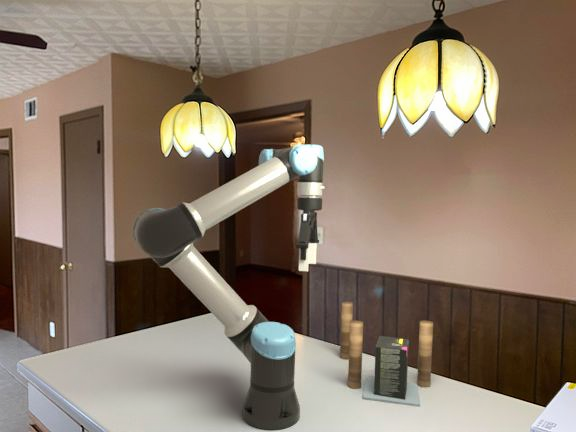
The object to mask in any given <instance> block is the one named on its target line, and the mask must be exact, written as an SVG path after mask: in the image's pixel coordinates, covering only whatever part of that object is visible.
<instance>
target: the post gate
mask: <svg viewBox="0 0 576 432" xmlns="http://www.w3.org/2000/svg"><path fill="white" fill-rule="evenodd" d="M353 308H354V303H353V302H352V301H341V315H340V317H341V318H340V319H341V320H340V339H339V340H340V344H339V346H340V348H339V349H340V350H339V358H340V359H342V360H346V361H347V360H348V361H349V338H350V321H353V316H354V315H353V313H354V309H353Z"/></svg>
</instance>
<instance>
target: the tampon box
mask: <svg viewBox="0 0 576 432" xmlns="http://www.w3.org/2000/svg"><path fill="white" fill-rule="evenodd" d="M374 352H375V353H374V394H377V395H383V396H389V397H395V398H401V399H405V398H406V391H407V383H408V366H409V365H408V363H409V338H400V337H393V336H386V335H385V336H384V335H379V336H378V339H377V341H376V344H375V351H374Z"/></svg>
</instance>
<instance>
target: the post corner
mask: <svg viewBox="0 0 576 432" xmlns="http://www.w3.org/2000/svg"><path fill="white" fill-rule="evenodd" d="M363 335H364V321H361V320H352V321H350V338H349V359H348V370H347V371H348V375H347V387H348V388H349V389H352V390H359V389H361V388H362V369H363V367H362V366H363V365H362V363H363V342H364V341H363V339H364V338H363V337H364V336H363Z"/></svg>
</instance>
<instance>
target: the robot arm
mask: <svg viewBox="0 0 576 432" xmlns="http://www.w3.org/2000/svg"><path fill="white" fill-rule="evenodd" d="M324 156H325V155H324V148H323V146H322V145H320V144H299V145H298V144H297V145H295V146H291V147H285V148H280V149H276V148H275V149H274V148H269V149H268V148H264V149H262V150H261V152H260V154H259V157H258V165H257V166H255V167H254V168H252V169H250V170H249V171H246V172H244V173H243V174H241V175H239V176H237V177H236V178H233V179H231V180H230V181H228V182H226V183H225V184H223V185H221V186H219V187H217V188H216V189H214V190H212V191H210V192H208V193H206V194H204V195H203V196H201V197H199V198H197V199H195V200H194V201H192V202H190V203H187V202H180V203H179V204H177V205H176V206H173V207H171V208H167V209H165V208H161V207H154V208H149V209H146V210H145V211H144V212H142V213H141V214H140V215H139V216H138V217H137V218H136V220H135V221H134V223H133V227H132V235H133V238H134V241H135V242H136V244H137V245H138V247H139V248H140V249H141V250H142V251H143V252H144V253H145V254H147V255H148V256H149V257H150V258H151V259H152V260H153V261H154V262H155V263H156V264H157V265H158V267H160V268H169V270H171V272H173V274H174V275H175V276H176V277H177V278H178V279H179V280H180V281H181V282H182V283H183V285H184V286H185V287H187V289H188V290H189V291H191V293H192V294H193V295H194V296H195V297H196V298H197V299H198V300H199V301H200V302H201V303H202V304H203V305H204V306H205V308H207V310H209V311H210V313H211V314H212V315H213V316H214V317H215V318H216V319H217V320H218V321H219V322H220V323H221V324H222V326H224V330H223V332H224V335H225V337H226V338H228V340H229V341H230V342H231V343H232V344H233V345H234V346H235V347H236V348H237V349H238V351H240V353H242V354H243V356H244V357H245V359H247V361H248V362H249V363H250V380H249V381H250V385H249V388H248V392H247V394H246V397H245V400H244V402H243V407H242V416H243V417H242V418H243V420H244V421H245V422H246V423H247V424H248V425H250V426H252V427H255V428H256V429H257V428H258V429H262V430H272V431H273V430H274V431H275V430H282V429H283V430H284V429H286V428H289V427H291V426H293V425H296V423H297V422H298V421H299V419H300V417H301V405H300V402H299V398H298V396H297V392H296V389H295V373H296V372H295V371H296V370H295V368H296V367H295V366H296V348H297V342H296V335H295V331H294V330H293V328H292V327H290V326H289V325H287V324H284V323H281V322H276V321H269V320H268V319H267V318H266V317H265V315H263V314H262V312H261V311H260V310H259V308H257V307H256V306H255V305H254V304H249V305H248V304H247V303H246V302H245V301H244V300H243V298H241V296H239V294H238V293H237V292H236V291H235V290H234V289H233V288H232V287H231V285H229V284H228V283H227V282H226V280H225V279H224V278H223V277H222V276H221V275H220V274H219V272H217V270H216V269H215V268H214V267H213V266H212V265H211V264H210V262H208V261H207V259H205V257H204V256H203V255H202V254H201V253H200V251H198V250H197V248H196V247H195V246H194V243H195V242H197V241H198V240H200V239H202V238H203V237H204V235H205V233H206V231H207V230H209V229H211V228H212V227H214V226H215V225H217V224H219V223H220V222H222V221H224V220H226V219H228V218H229V217H231V216H233V215H234V214H236V213H238V212H239V211H241V210H242V209H243V210H244V209H245V208H246V207H247V206H250V205H252V204H253V203H255V202H257V201H259V200H260V199H262V198H263V197H265V196H267V195H269V194H270V193H272V192H274V191H275V190H277V189H279V188H281V187H282V186H284V185H287V183H290V182H291V181H293V180H295V179H296V178H297V186H296V187H297V190H296V192H297V193H296V195H297V196H298V198H296V200H297V201H296V208H297V210H299V211H303V213H301V214H300V224H299V234H298V238H297V239H298V240H297V241H298V242H297V244H296V246H295V247H296V249H298V271H299V272H309V265H317V247H318V246H317V244H320V239H319V237H318V236H319V235H318V233H319V232H318V218H317V217H318V212H316V211H321V210H322V209H323V199H322V196H323V190H325V186H324V185H323V184H324V183H323V181H324V162H325V157H324Z"/></svg>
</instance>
